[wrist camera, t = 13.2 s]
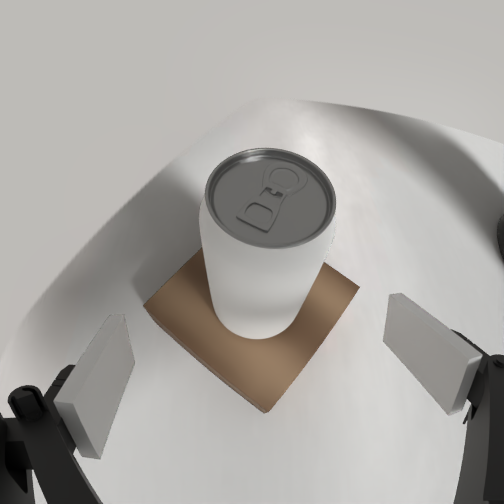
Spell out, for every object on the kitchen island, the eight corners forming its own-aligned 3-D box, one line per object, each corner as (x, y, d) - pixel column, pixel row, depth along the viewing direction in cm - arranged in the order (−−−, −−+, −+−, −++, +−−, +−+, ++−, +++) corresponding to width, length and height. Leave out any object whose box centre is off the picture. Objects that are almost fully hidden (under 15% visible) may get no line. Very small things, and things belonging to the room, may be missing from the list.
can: (312, 284, 24) (363, 176, 14) (274, 357, 21) (311, 287, 11) (240, 248, 26) (243, 126, 15) (195, 313, 23) (163, 212, 12)
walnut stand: (243, 233, 31) (243, 207, 28) (345, 305, 28) (360, 287, 24) (155, 322, 26) (142, 305, 23) (264, 413, 23) (268, 411, 19)
